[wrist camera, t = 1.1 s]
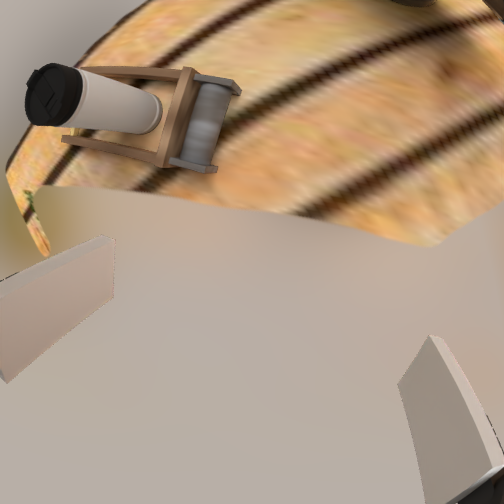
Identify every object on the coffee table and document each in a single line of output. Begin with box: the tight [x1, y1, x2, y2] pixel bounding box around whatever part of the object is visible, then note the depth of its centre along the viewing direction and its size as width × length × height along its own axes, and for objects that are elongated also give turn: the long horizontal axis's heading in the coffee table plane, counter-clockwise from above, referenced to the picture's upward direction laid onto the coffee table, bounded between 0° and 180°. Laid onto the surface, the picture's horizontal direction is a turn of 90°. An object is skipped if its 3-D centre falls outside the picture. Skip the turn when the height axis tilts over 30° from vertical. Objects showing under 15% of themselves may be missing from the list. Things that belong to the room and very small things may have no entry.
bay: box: [61, 66, 242, 173], centre depth 33 cm, size 13×27×5 cm, turn 73°
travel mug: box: [25, 63, 162, 134], centre depth 26 cm, size 6×7×20 cm
